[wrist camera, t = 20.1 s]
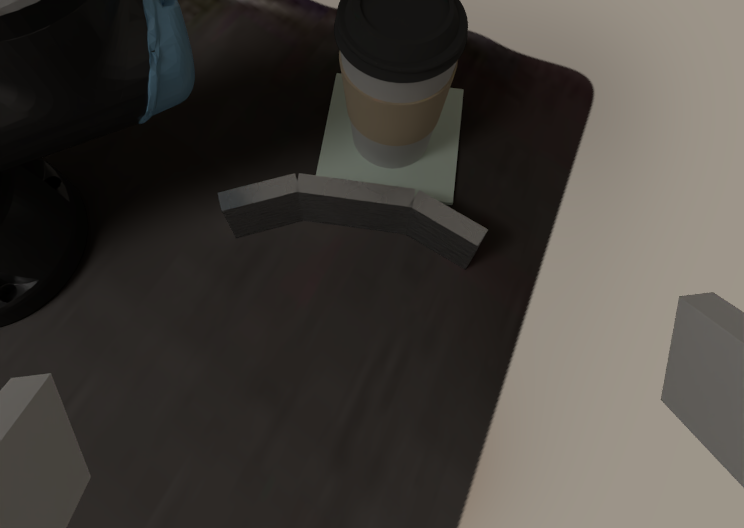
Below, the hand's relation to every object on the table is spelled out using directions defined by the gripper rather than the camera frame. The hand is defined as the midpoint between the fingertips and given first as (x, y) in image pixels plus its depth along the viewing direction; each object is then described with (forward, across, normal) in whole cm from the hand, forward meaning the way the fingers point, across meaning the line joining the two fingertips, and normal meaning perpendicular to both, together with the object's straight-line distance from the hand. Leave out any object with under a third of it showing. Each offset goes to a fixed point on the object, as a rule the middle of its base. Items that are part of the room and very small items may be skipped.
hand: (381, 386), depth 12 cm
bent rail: (+33, +1, -9) cm, 34 cm away
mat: (+39, +6, -3) cm, 40 cm away
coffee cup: (+39, +6, -2) cm, 40 cm away
